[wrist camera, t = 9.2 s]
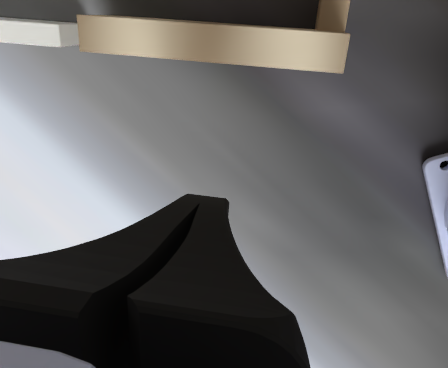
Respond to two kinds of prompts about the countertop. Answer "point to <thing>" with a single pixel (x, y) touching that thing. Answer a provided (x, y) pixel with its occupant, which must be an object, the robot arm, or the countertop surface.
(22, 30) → the dock
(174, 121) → the countertop surface
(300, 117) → the countertop surface
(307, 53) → the bay
